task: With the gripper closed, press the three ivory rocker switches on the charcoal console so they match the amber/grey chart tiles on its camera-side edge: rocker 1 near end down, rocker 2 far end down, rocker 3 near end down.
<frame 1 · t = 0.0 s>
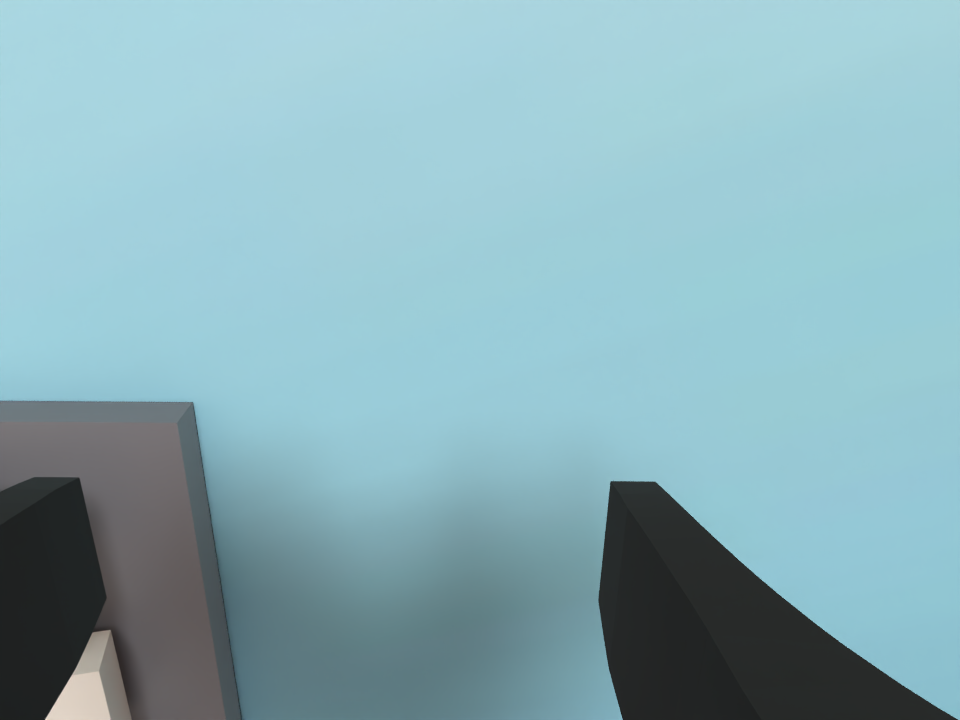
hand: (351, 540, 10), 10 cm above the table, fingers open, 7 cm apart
console: (24, 638, 24), on the table
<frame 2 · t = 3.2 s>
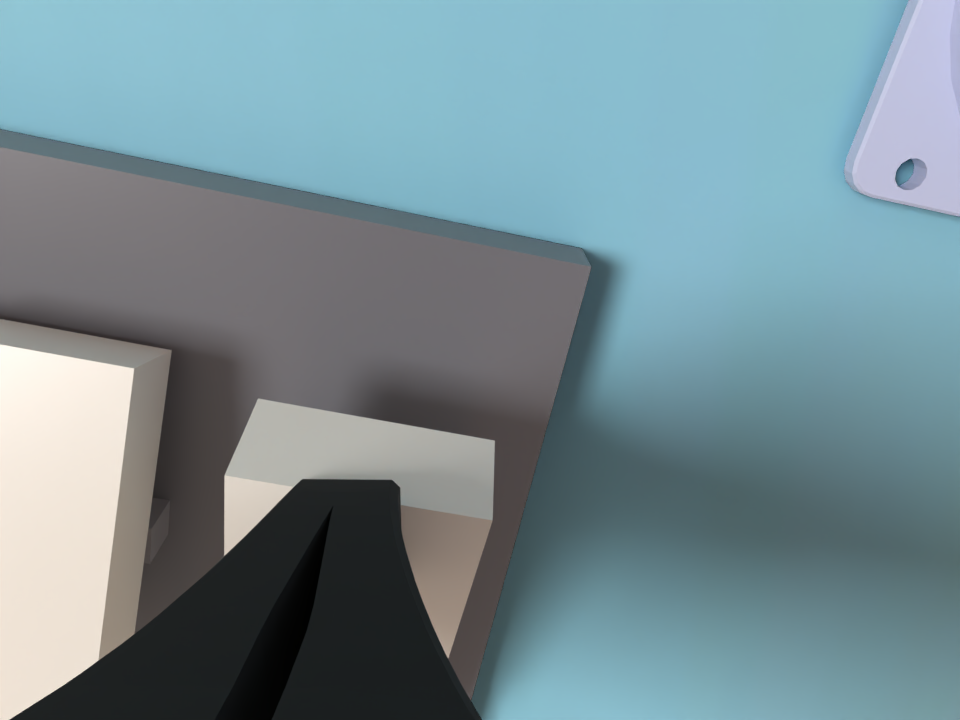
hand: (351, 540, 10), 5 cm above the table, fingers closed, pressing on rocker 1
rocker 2: (12, 572, 12), point 3 cm above the table, hinge at 13.0°
rocker 1: (342, 623, 13), point 3 cm above the table, hinge at -13.0°, touching gripper
console: (102, 468, 15), on the table
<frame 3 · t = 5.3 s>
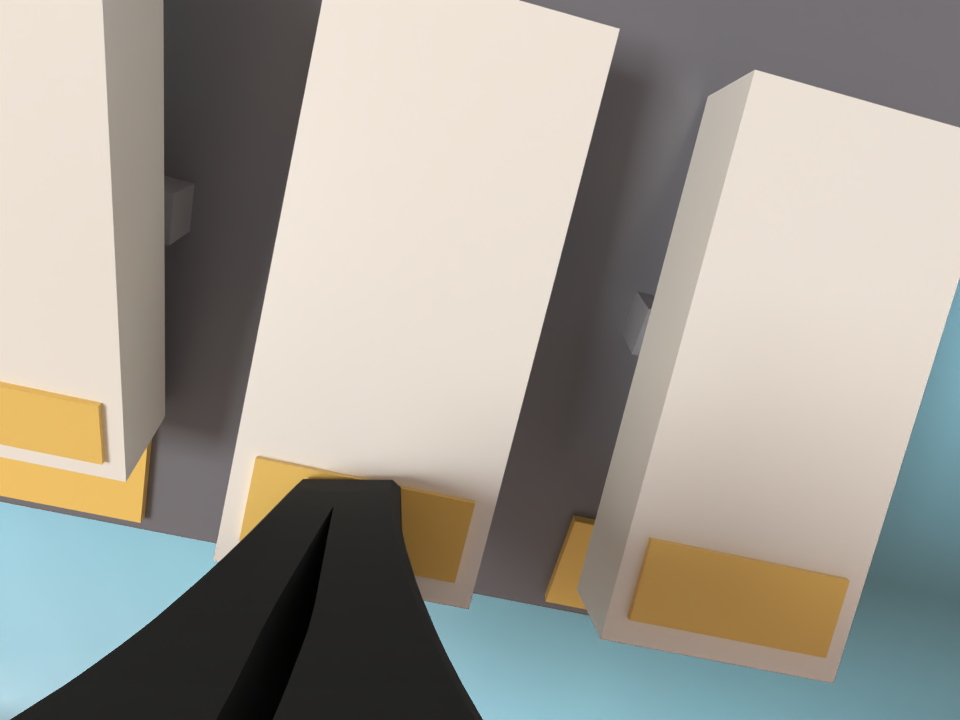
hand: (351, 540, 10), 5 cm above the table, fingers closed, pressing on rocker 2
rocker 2: (408, 301, 10), point 3 cm above the table, hinge at 13.0°, touching gripper
rocker 1: (771, 386, 11), point 3 cm above the table, hinge at 16.2°
console: (422, 243, 13), on the table
rocker 3: (1, 207, 10), point 3 cm above the table, hinge at -13.0°
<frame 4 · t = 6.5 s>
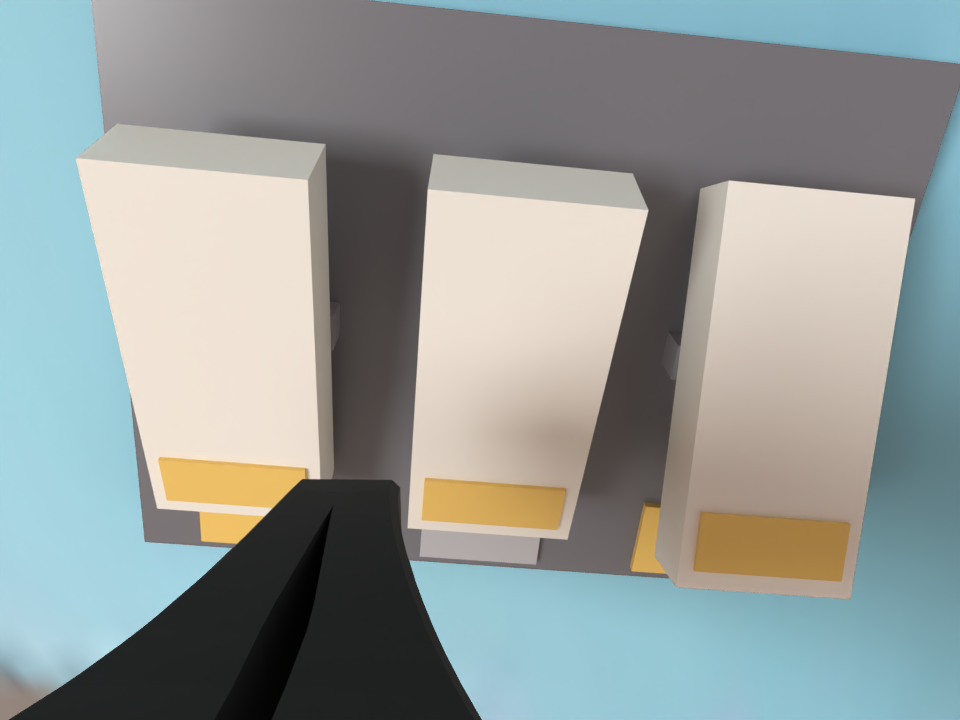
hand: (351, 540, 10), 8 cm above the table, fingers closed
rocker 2: (508, 370, 15), point 3 cm above the table, hinge at -12.2°
rocker 1: (775, 391, 15), point 3 cm above the table, hinge at 15.8°
console: (501, 315, 18), on the table
rocker 3: (231, 347, 15), point 3 cm above the table, hinge at -13.0°
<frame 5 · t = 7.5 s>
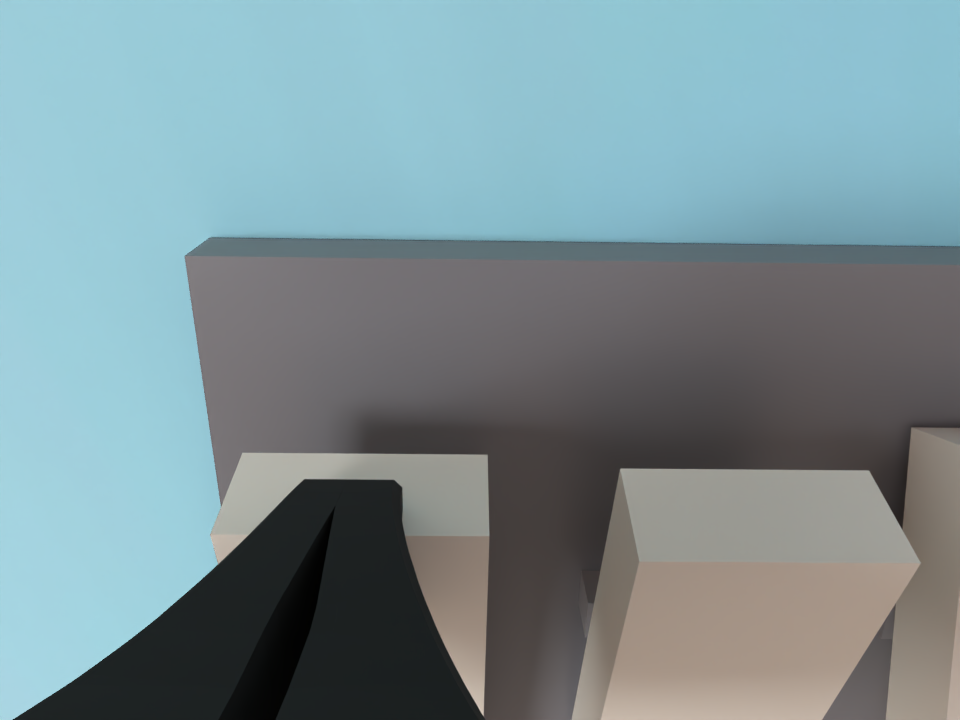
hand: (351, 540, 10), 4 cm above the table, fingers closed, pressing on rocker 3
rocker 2: (702, 670, 13), point 3 cm above the table, hinge at -15.5°
console: (658, 549, 16), on the table
rocker 3: (375, 668, 12), point 3 cm above the table, hinge at -10.6°, touching gripper
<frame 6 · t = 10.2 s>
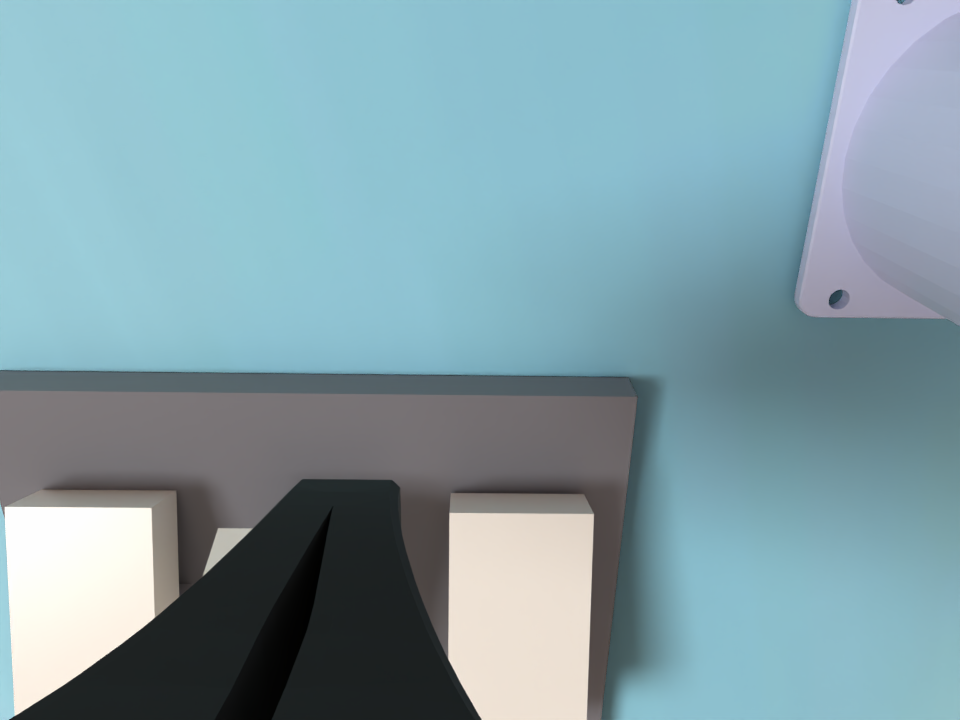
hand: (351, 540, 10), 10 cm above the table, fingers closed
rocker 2: (309, 649, 20), point 3 cm above the table, hinge at -16.5°
rocker 1: (516, 648, 20), point 3 cm above the table, hinge at 15.6°
console: (329, 568, 23), on the table
rocker 3: (98, 647, 20), point 3 cm above the table, hinge at 17.8°
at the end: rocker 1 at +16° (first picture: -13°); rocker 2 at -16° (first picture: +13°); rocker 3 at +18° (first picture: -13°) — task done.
